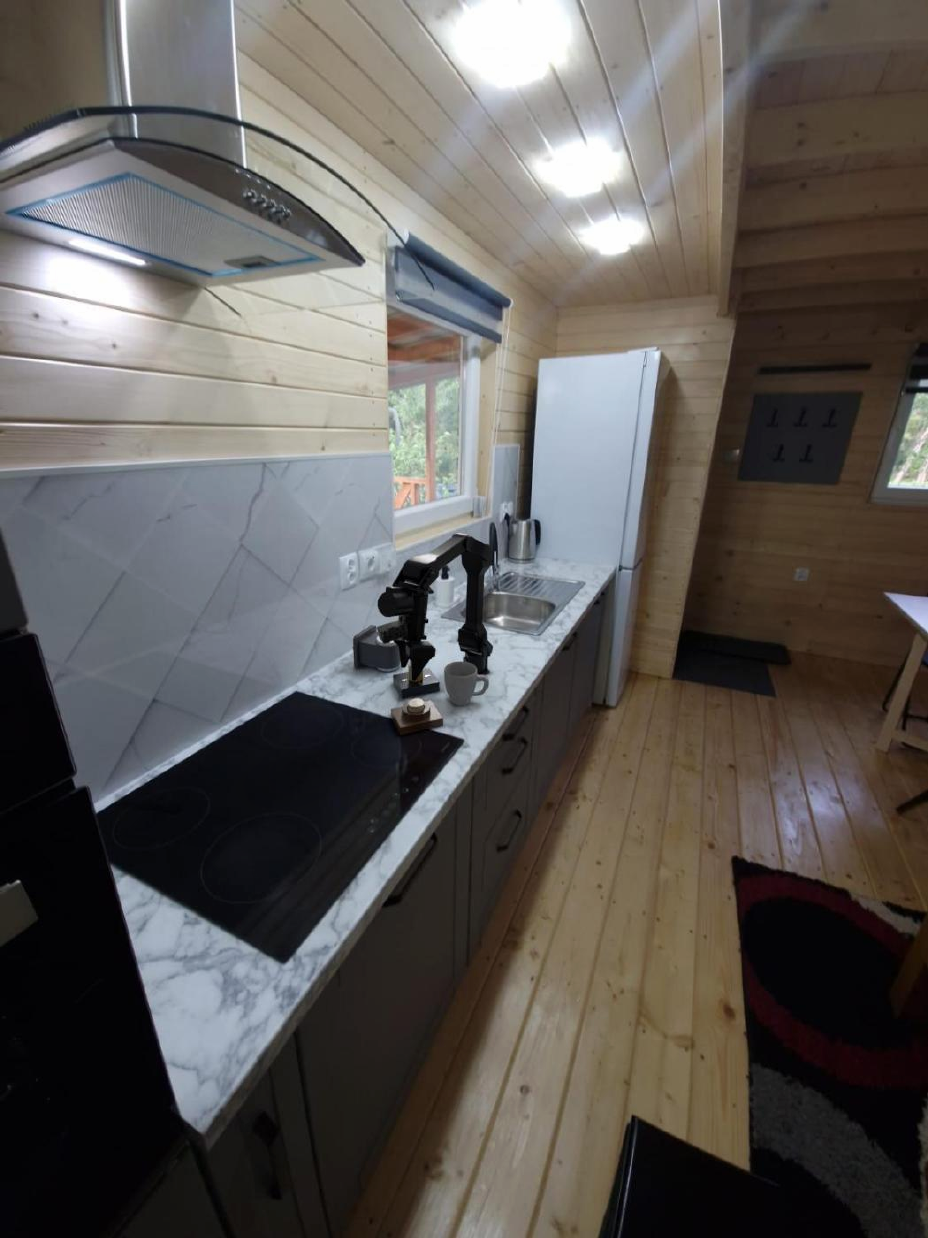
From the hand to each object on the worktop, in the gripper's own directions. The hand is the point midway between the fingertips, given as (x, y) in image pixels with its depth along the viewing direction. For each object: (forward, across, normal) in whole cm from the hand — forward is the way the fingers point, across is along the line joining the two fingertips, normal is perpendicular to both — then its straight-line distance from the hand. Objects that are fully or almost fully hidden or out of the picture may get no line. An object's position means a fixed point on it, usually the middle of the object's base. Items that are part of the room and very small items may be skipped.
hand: (408, 673), depth 122 cm
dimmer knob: (+7, -15, +7) cm, 18 cm away
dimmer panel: (+10, -15, +8) cm, 20 cm away
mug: (+10, -3, +18) cm, 21 cm away
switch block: (+12, +1, +3) cm, 13 cm away
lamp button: (+9, +1, +3) cm, 9 cm away
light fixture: (+9, -32, +1) cm, 33 cm away
